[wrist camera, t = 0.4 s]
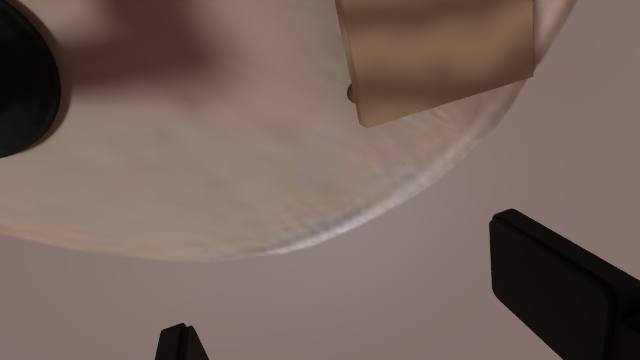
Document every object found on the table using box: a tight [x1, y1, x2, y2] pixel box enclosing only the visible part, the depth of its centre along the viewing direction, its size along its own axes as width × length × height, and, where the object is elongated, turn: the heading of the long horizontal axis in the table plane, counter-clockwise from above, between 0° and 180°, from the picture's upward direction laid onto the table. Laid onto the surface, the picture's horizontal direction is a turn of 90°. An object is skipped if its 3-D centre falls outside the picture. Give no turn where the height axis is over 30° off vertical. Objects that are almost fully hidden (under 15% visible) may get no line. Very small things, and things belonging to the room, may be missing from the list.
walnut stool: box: [335, 0, 533, 128], centre depth 35 cm, size 18×18×7 cm
